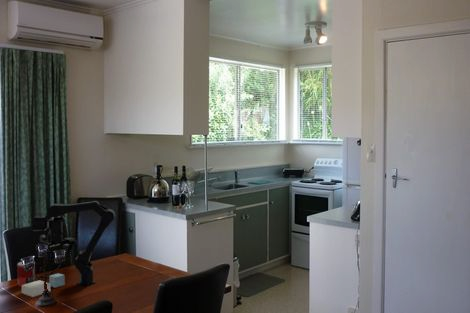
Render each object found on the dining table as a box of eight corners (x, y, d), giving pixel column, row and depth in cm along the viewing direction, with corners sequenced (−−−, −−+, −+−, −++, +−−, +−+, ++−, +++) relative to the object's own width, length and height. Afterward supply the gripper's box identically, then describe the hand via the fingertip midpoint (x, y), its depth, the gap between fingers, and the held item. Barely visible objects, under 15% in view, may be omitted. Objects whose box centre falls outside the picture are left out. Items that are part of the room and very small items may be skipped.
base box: (50, 292, 216) (50, 283, 216) (32, 297, 208) (32, 289, 208) (39, 288, 221) (39, 280, 221) (21, 293, 214) (21, 285, 213)
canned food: (28, 288, 220) (28, 265, 220) (14, 287, 222) (13, 264, 222) (38, 283, 228) (38, 261, 227) (24, 282, 230) (23, 260, 229)
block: (64, 285, 225) (64, 275, 225) (55, 287, 221) (55, 277, 221) (58, 283, 228) (58, 273, 228) (49, 285, 224) (49, 275, 224)
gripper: (63, 225, 236) (63, 255, 236) (28, 231, 220) (29, 263, 221) (76, 227, 229) (77, 258, 230) (41, 234, 214) (42, 267, 215)
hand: (56, 261), depth 224 cm, fingers open, 9 cm apart
